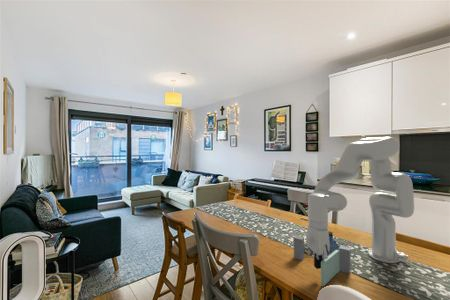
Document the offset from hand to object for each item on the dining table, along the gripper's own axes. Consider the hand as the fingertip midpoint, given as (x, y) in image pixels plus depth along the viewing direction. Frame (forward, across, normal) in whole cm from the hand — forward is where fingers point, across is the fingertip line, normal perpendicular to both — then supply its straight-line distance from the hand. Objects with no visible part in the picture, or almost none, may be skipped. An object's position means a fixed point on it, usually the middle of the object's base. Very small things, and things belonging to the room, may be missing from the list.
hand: (318, 267), depth 91 cm
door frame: (+4, -10, +7) cm, 13 cm away
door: (+4, +1, +5) cm, 6 cm away
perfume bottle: (+5, -16, +16) cm, 23 cm away
